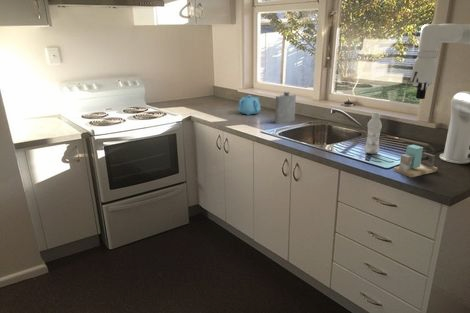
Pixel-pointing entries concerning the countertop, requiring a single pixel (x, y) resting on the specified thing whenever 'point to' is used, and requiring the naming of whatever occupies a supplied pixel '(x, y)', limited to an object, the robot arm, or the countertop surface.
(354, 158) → the countertop surface
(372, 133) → the plastic bottle
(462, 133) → the robot arm
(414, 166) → the sleeve
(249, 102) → the decorative pot
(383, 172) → the countertop surface
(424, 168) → the cord board
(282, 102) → the hip flask
